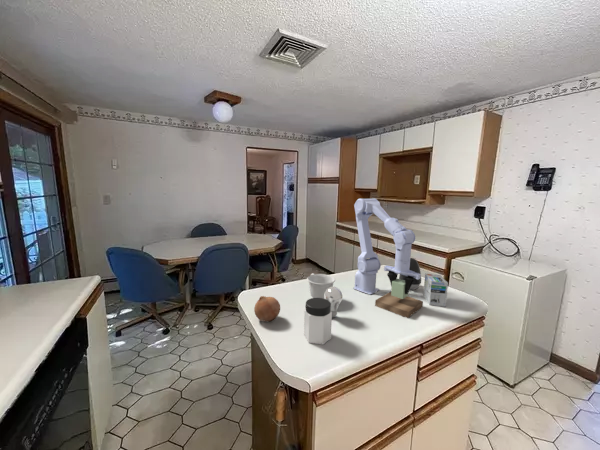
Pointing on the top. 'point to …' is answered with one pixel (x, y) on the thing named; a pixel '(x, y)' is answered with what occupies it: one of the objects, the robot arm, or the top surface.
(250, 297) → the top surface
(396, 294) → the green block
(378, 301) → the walnut base
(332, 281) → the teacup
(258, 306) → the onion
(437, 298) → the light bulb box
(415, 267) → the black egg-shaped speaker
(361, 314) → the top surface
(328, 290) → the light bulb
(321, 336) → the jar
